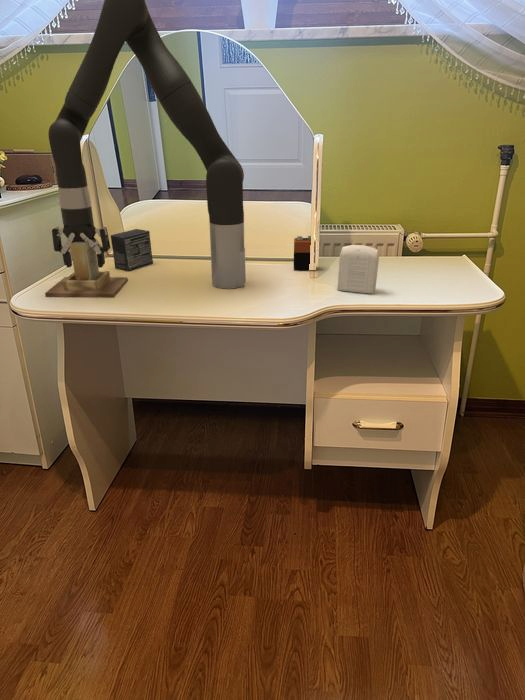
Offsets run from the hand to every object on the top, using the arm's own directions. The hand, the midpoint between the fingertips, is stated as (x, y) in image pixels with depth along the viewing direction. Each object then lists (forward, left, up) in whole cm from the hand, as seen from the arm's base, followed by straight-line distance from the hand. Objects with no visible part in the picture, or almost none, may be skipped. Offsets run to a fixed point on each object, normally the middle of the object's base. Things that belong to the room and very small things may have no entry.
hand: (85, 266), depth 139 cm
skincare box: (0, 0, -5) cm, 5 cm away
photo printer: (-73, 0, -6) cm, 73 cm away
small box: (-7, -22, -6) cm, 24 cm away
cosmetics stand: (0, 0, -6) cm, 6 cm away
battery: (-60, -20, -6) cm, 64 cm away
